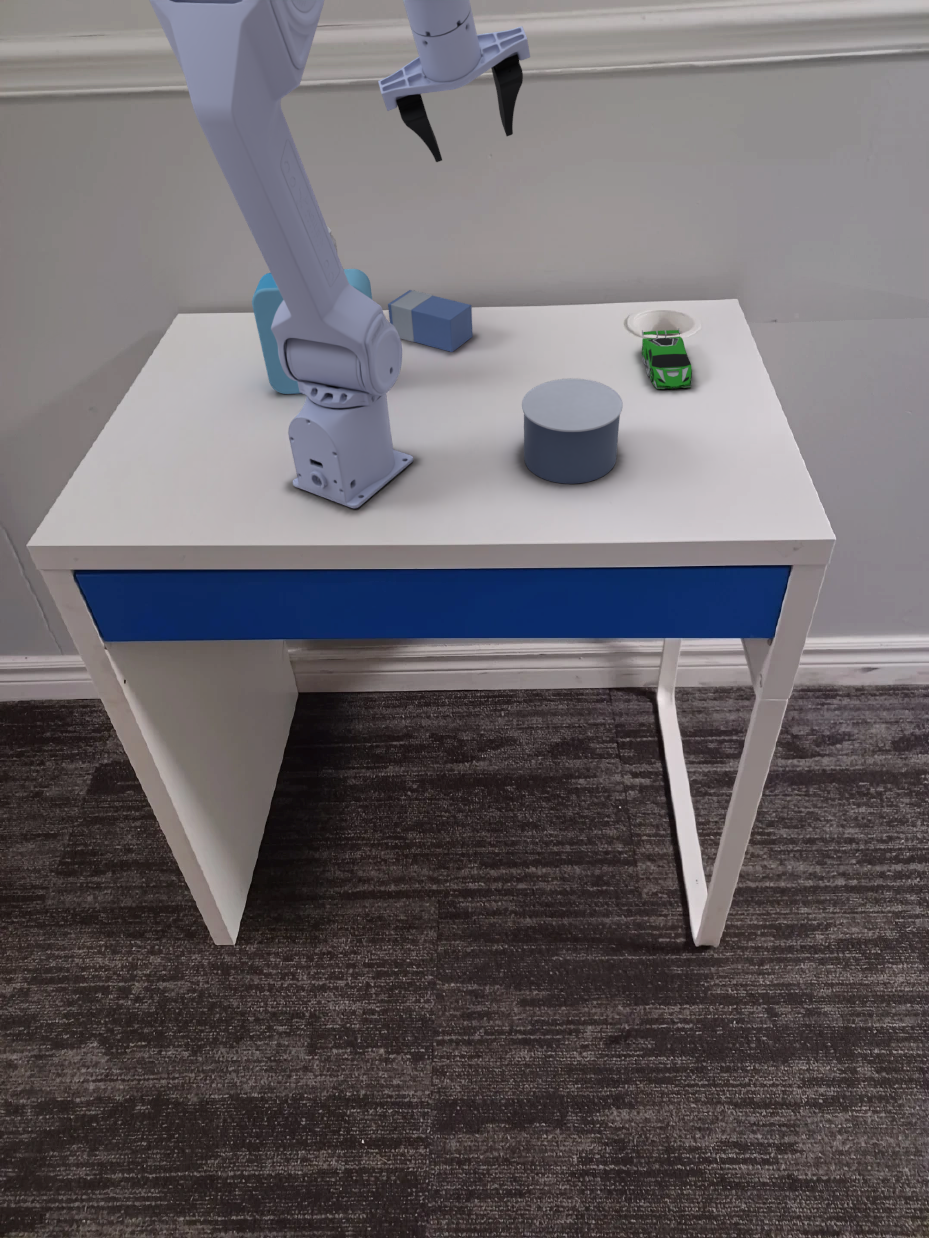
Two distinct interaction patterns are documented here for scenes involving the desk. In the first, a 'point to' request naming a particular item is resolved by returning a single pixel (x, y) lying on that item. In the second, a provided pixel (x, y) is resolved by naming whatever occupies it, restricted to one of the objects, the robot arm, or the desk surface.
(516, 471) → the desk surface
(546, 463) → the yogurt tub
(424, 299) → the block
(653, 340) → the toy car
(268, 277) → the data package
